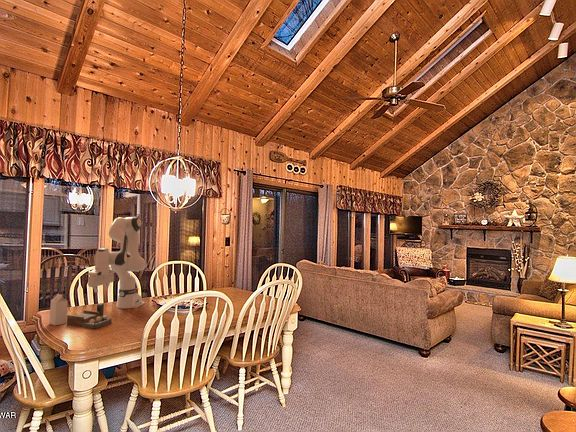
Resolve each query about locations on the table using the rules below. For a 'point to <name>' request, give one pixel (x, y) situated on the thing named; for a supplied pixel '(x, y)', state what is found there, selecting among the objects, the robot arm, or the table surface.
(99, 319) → the birch ball
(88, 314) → the channel block
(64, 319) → the milk carton
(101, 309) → the scraper
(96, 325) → the tray
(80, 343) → the table surface
